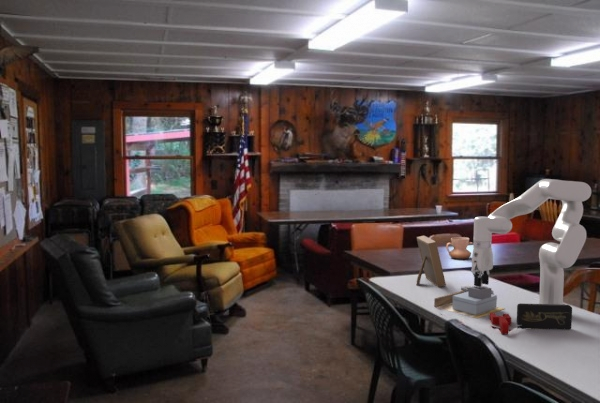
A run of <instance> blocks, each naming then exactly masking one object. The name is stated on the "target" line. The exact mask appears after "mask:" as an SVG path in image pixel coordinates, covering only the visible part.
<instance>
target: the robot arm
mask: <svg viewBox="0 0 600 403" xmlns="http://www.w3.org/2000/svg"><path fill="white" fill-rule="evenodd" d="M591 195H592V188H591V186H590V185H589V184H588V183H586V182H585V181H584V182H583V181H574V180H561V179H554V178H553V179H551V178H543V179H540V180H539V181H537V182H536V183H535V184H534V185H532V186H531V187H530V188H528V189H527V190H526V191H525V192H523V193H522V194H521V195H519V196H518V197H516V198H515V199H513V200H511V201H509V202H507V203H504V204H503V205H501V206H499V207H498V208H496V209H495V210H494V211H493V212H491V213H490V214H489V215H488V216H476V217H475V218H474V220H473V242H472V243H473V244H472V246H473V250H472V254H471V255H472V257H471V270H470V272H471V273H472V276H473V278H474V279H473V286H479V287H481V278H480V277H481V276H482V285H489V281H490V280H489V279H490V278H489V276H490V272H491V271H492V270H493V268H494V256H493V255H494V253H493V248H492V237H493V236H492V234H498V235H499V234H500V235H504V234H505V235H506V234H508V233H510V232H511V231H512V229H513V223H512V221H511V219H514V218H515V217H518V216H523V215H527V214H531V213H533V212H534V211H536V209H537V208H539V207H540V206H541V205H543V204H544V203H545V202H547V201H548V200H549V199H550V200H557V201H561V204H562V206H561V211H560V213H559V216H558V217H557V219H556V221H555V224H554V226H553V228H552V230H551V231H552V232H551V235H552V237H553V239H554V240H555V241H557V242H560V243H557V242H550V241H549V242H546V243H544V244H542V245H541V246H540V248H539V251H538V257H539V265H540V266H539V269H540V275H539V277H540V278H539V300H538V301H539V302H538V304H562V305H566V303H564V283H565V282H564V281H565V280H564V279H565V276H564V274H565V272H564V269H568V268H570V267H572V266H573V265H574V264H575V263H576V261H577V260H578V257H579V255H580V253H581V251H582V249H583V247H584V245H585V243H586V240H587V230H586V228H585V227H584V226H583V225H581V224H580V221H581V219H582V217H583V214H584V205H583V202H585V201H587V200H589V199H590V197H591Z"/></svg>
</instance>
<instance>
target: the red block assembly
mask: <svg viewBox="0 0 600 403" xmlns="http://www.w3.org/2000/svg"><path fill="white" fill-rule="evenodd" d="M488 315H489V318H488V319H489V321H490V323H491V325H490V326H491V328H492V329H498V330H499V332H500V333H501V335H509V332H510V331H509V330H510V327H511V326H512V317H511V315H510V314H509V313H502V315H497V314H496V312H495V313H490V314H488ZM497 326H498V327H497Z"/></svg>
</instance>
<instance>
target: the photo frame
mask: <svg viewBox="0 0 600 403" xmlns="http://www.w3.org/2000/svg"><path fill="white" fill-rule="evenodd" d="M416 241H417V245H418V250H419V253H420V254H419V255H420V260H421V263H422V264H421V267H420V270H419V272H418V275H417V278H416V279H417V280H416V286H418V285H419V284H420V283H421V279H422V275H423V272H424V276H425V279H427V280H428V281H429V282H431V283H432V284H433V285H434V286H436V287H437V288H440V287H441V288H442V287H445V286H447V284H446V283H447V282H446V280H445V274H444V270H443V267H442V266H443V265H442V262H441V258H440V257H441V256H440V253H439V249H438V244H437V241H436V240H434V239H432V238H430V237H428V236H426V235H421V236H416Z"/></svg>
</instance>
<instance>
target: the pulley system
mask: <svg viewBox="0 0 600 403" xmlns="http://www.w3.org/2000/svg"><path fill="white" fill-rule="evenodd" d="M482 286H483V287H487V286H485V285H482ZM469 287H472V286H469V285H465V286H461V287H460V291H465V292H468V289H469ZM491 294H493V295H495V293H494V290H492V289H491Z"/></svg>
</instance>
